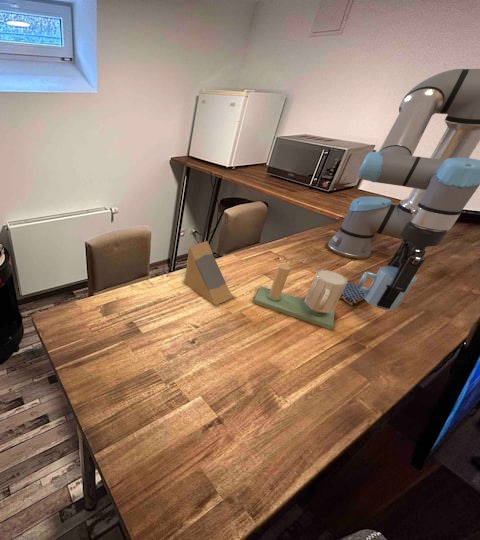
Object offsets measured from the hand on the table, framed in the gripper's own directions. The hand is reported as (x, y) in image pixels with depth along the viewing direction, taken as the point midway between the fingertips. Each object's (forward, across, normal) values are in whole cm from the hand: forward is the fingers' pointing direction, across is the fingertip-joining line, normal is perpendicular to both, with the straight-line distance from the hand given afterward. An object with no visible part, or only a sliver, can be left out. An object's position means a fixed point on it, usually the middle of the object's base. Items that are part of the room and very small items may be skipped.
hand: (382, 298), depth 83 cm
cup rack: (+9, +6, -20) cm, 23 cm away
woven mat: (+9, -13, -6) cm, 17 cm away
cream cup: (+4, +8, -14) cm, 17 cm away
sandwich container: (+9, +12, -46) cm, 49 cm away
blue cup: (+1, 0, -1) cm, 2 cm away
